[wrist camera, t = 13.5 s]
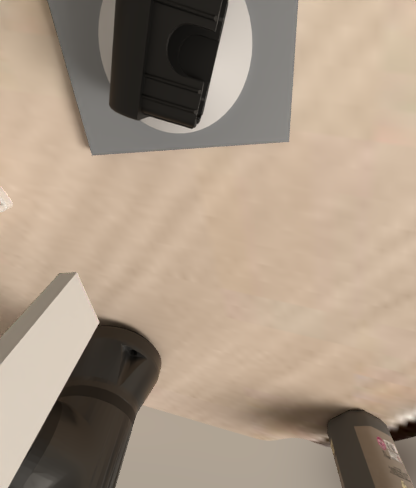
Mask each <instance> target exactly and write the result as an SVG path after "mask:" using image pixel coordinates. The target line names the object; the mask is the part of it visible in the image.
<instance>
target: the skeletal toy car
mask: <svg viewBox="0 0 416 488" xmlns="http://www.w3.org/2000/svg"><path fill="white" fill-rule="evenodd" d="M0 202H1V204H0V212H3V211H5V210H7V209H9V208H11V207H12V205H13V203H12V201H11V199H10V197H9V196H8V194H7V193H6V192H5V190H4V189H3V188H2V187H1V186H0Z"/></svg>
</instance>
